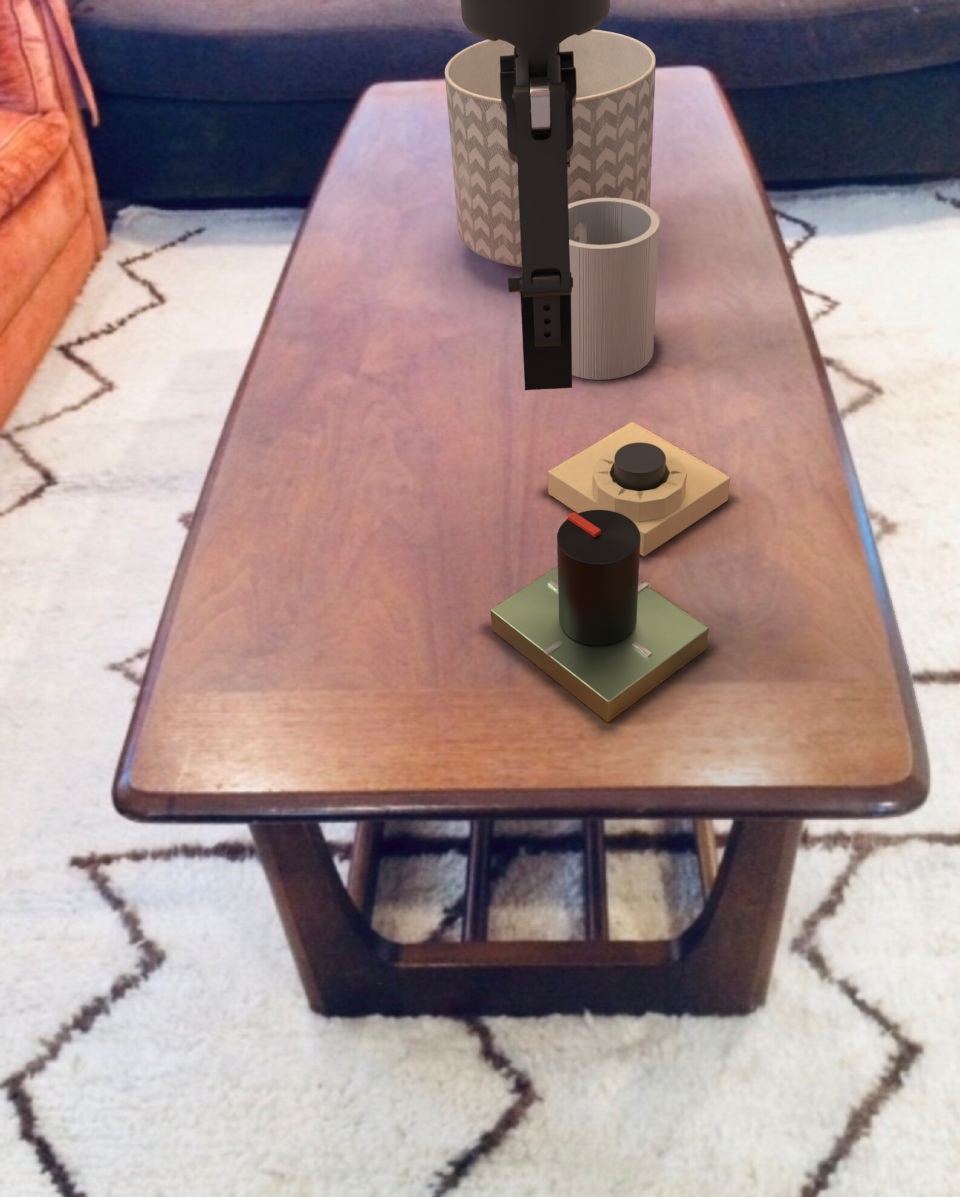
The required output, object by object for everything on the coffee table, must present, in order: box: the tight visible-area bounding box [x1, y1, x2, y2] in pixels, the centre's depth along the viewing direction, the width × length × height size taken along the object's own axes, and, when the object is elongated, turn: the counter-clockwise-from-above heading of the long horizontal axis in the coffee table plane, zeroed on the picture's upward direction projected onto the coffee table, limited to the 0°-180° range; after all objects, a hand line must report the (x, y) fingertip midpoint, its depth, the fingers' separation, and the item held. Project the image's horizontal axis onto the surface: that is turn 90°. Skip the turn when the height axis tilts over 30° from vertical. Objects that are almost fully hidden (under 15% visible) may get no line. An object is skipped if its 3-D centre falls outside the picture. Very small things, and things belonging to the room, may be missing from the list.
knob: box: [556, 510, 641, 646], centre depth 68 cm, size 5×5×7 cm
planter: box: [444, 29, 657, 268], centre depth 105 cm, size 19×19×18 cm
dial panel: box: [490, 565, 710, 723], centre depth 72 cm, size 11×9×2 cm
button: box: [614, 442, 666, 491], centre depth 78 cm, size 4×4×2 cm
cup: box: [568, 198, 661, 381], centre depth 93 cm, size 9×9×12 cm
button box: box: [547, 421, 731, 557], centre depth 81 cm, size 10×9×4 cm
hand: (545, 325), depth 68 cm, fingers open, 13 cm apart
